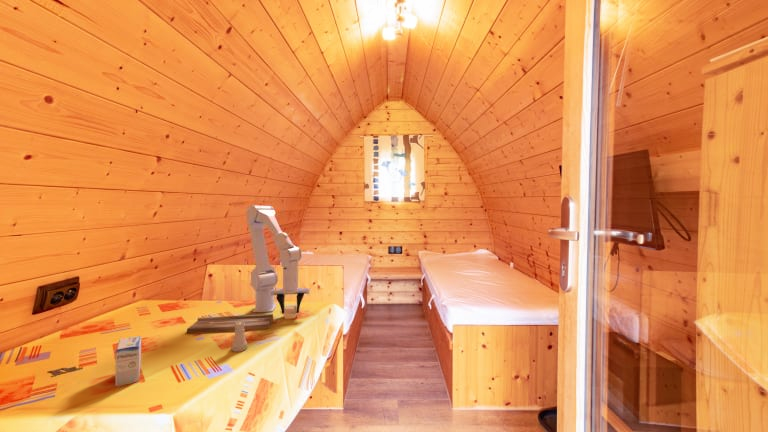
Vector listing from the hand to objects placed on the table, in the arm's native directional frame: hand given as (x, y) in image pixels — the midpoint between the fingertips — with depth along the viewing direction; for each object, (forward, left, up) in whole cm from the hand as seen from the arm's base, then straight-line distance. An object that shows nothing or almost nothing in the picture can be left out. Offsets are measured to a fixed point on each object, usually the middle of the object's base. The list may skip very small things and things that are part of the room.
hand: (290, 312), depth 124 cm
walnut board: (+8, -19, -1) cm, 21 cm away
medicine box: (+42, -33, -2) cm, 53 cm away
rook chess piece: (+29, -11, -2) cm, 31 cm away
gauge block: (0, 0, -2) cm, 2 cm away
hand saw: (+31, -44, -2) cm, 54 cm away
